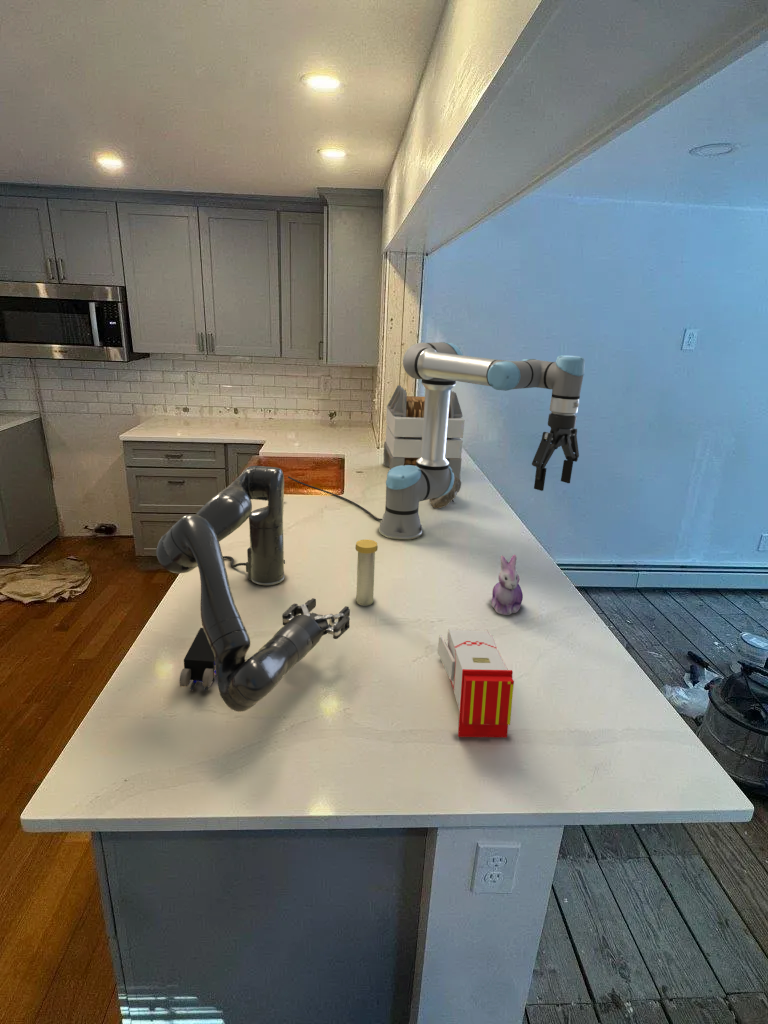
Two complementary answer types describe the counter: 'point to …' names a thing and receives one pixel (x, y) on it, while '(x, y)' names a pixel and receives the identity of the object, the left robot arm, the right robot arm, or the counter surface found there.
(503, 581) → the figurine
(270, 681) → the left robot arm
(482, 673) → the toy
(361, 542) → the lid
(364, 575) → the bottle
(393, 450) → the white wooden crate
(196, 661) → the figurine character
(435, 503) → the fossil
